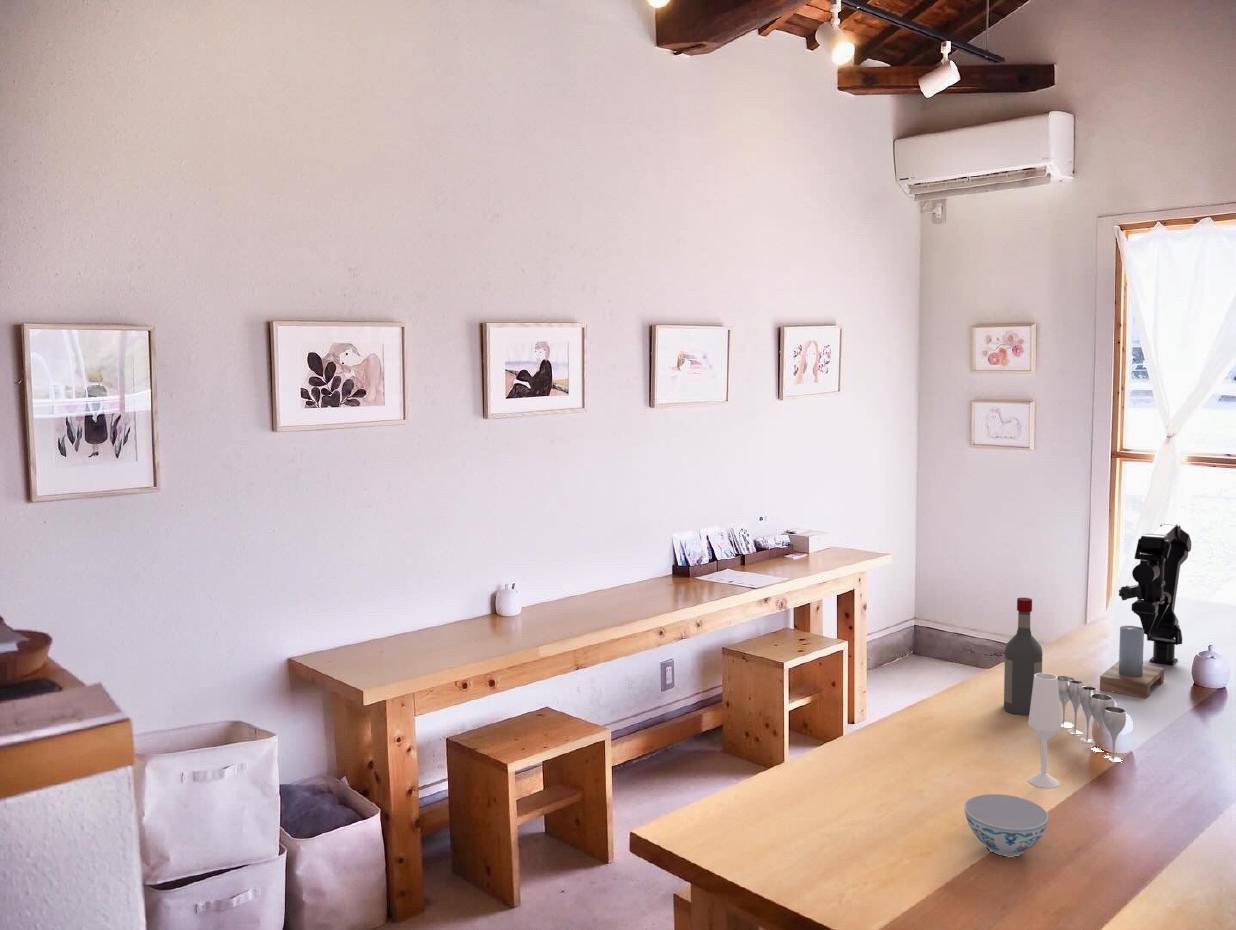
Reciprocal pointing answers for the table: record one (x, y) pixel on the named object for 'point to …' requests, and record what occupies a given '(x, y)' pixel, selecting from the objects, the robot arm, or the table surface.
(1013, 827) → the chinaware
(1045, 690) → the champagne flute
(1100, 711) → the goblet set
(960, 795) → the table surface
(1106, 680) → the riser
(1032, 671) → the liquor
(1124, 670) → the tall grey cylinder
